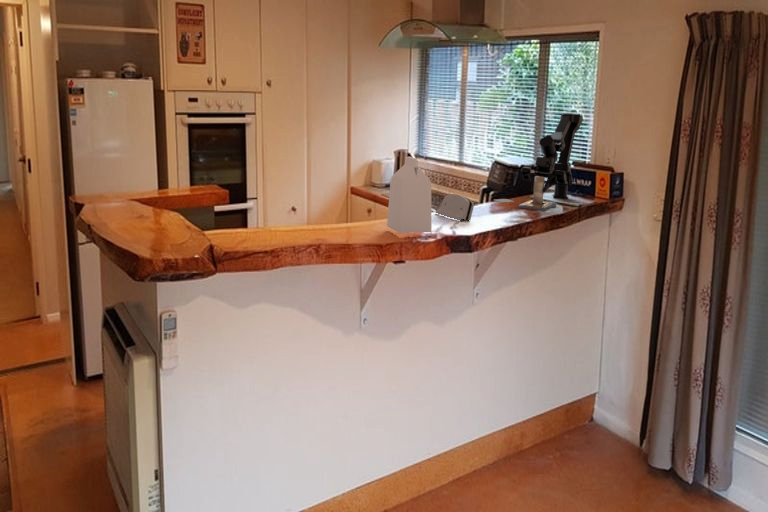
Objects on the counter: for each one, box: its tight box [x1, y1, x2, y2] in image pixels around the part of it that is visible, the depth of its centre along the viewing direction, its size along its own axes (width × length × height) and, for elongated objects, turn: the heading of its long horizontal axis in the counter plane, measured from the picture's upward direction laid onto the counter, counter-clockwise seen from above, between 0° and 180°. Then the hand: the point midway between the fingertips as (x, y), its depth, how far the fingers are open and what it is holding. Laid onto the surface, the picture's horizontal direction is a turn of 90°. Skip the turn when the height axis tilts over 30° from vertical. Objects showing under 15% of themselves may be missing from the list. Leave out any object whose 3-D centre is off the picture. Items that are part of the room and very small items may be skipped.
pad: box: [494, 198, 516, 203], centre depth 301 cm, size 7×7×1 cm
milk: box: [386, 156, 432, 233], centre depth 231 cm, size 12×12×26 cm
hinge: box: [435, 193, 475, 221], centre depth 263 cm, size 17×5×10 cm, turn 30°
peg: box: [532, 176, 546, 205], centre depth 287 cm, size 4×4×13 cm
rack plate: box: [518, 199, 557, 212], centre depth 289 cm, size 16×11×2 cm
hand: (537, 191), depth 286 cm, fingers open, 5 cm apart
